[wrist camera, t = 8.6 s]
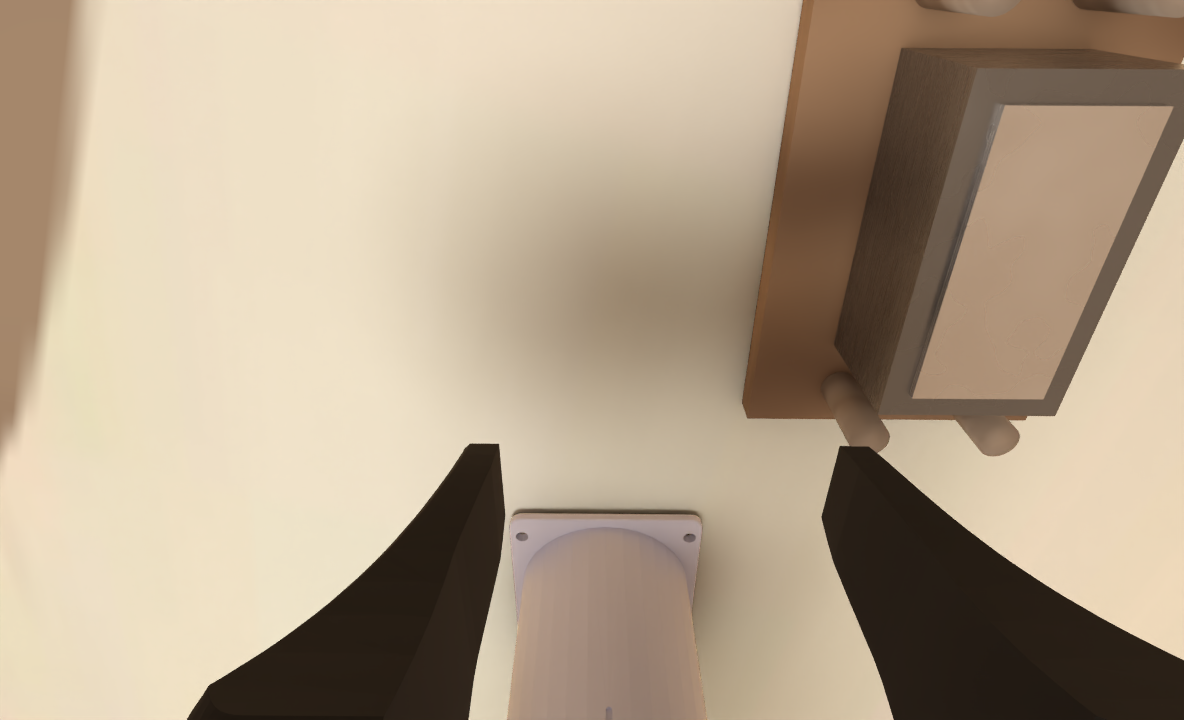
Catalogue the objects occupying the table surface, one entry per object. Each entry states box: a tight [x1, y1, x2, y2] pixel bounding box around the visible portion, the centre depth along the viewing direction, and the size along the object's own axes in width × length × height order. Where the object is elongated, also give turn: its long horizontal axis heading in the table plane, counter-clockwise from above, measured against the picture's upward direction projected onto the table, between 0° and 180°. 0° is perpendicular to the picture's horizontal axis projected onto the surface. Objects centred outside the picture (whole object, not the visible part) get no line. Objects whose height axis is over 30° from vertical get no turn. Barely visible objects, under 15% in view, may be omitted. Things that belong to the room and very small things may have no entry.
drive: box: [834, 48, 1184, 416], centre depth 18 cm, size 9×5×4 cm, turn 0°
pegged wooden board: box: [742, 0, 1184, 456], centre depth 19 cm, size 15×10×4 cm, turn 0°
